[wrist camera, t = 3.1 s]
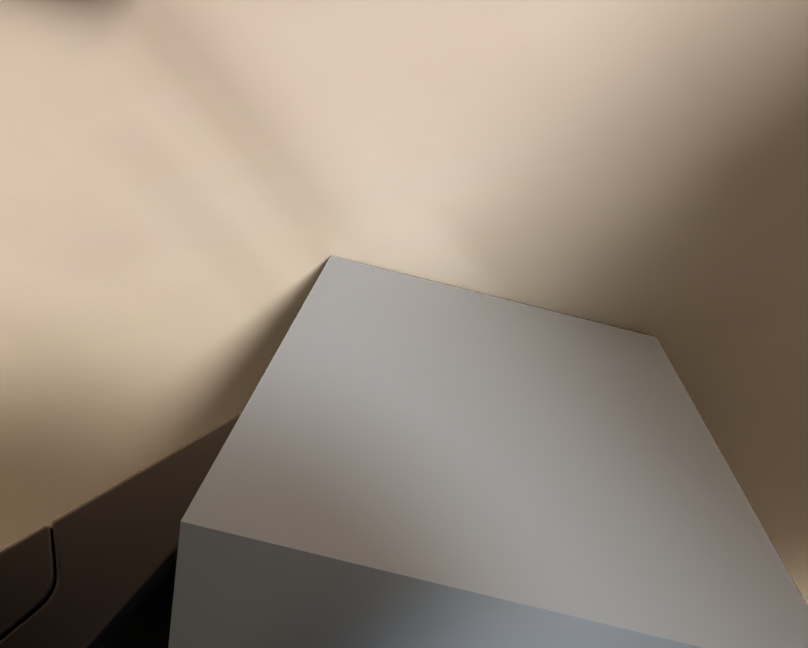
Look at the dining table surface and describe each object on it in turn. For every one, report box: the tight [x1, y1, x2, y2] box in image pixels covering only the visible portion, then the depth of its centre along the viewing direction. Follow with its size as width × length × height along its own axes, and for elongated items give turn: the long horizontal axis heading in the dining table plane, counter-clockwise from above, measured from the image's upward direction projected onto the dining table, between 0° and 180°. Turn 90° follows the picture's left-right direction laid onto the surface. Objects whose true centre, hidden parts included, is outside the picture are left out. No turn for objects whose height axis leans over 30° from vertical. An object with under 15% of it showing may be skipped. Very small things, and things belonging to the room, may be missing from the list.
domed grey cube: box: [168, 256, 808, 648], centre depth 7 cm, size 4×4×6 cm
